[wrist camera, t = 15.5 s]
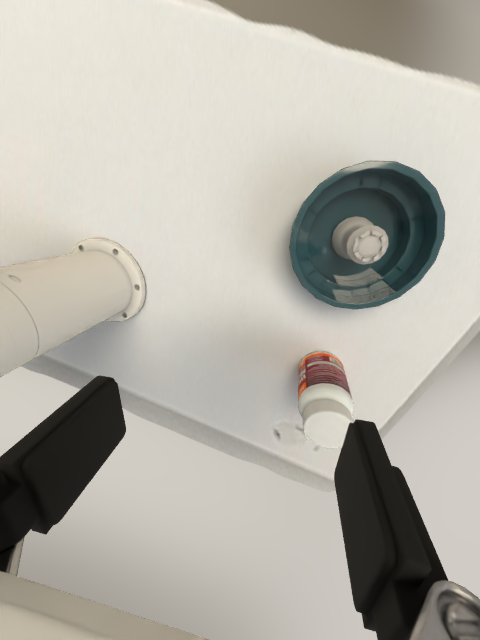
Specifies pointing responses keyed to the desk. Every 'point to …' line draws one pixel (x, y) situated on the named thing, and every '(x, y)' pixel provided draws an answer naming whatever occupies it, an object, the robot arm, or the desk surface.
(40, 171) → the desk surface
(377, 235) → the rook chess piece
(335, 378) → the pill bottle
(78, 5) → the desk surface
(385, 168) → the bowl
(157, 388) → the desk surface
